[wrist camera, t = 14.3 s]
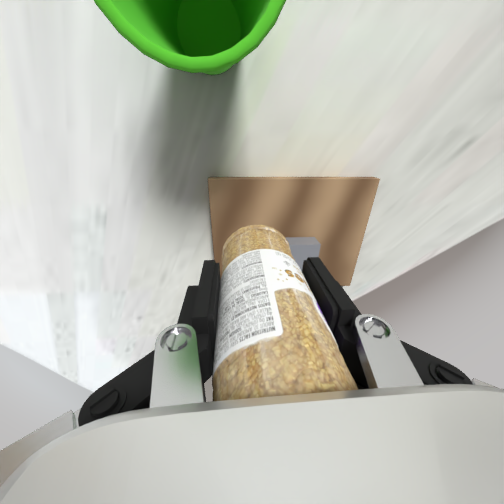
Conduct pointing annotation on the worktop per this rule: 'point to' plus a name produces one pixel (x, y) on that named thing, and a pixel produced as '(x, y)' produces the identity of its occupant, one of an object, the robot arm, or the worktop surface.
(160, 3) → the cup
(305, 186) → the board
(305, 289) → the sprinkles bottle
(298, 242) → the tile
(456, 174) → the worktop surface
